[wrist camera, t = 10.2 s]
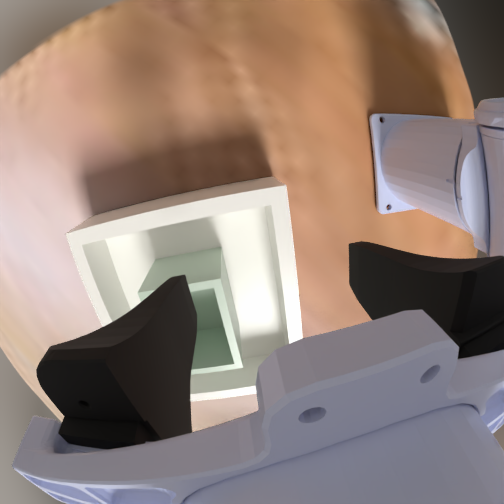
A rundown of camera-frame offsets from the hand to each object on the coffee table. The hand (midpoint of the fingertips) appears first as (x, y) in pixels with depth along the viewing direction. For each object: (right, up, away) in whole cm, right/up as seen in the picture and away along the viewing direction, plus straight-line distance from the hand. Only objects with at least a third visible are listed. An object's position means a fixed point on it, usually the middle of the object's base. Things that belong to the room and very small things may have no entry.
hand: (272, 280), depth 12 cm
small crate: (-5, -2, +9) cm, 11 cm away
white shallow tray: (-5, -2, +11) cm, 12 cm away
